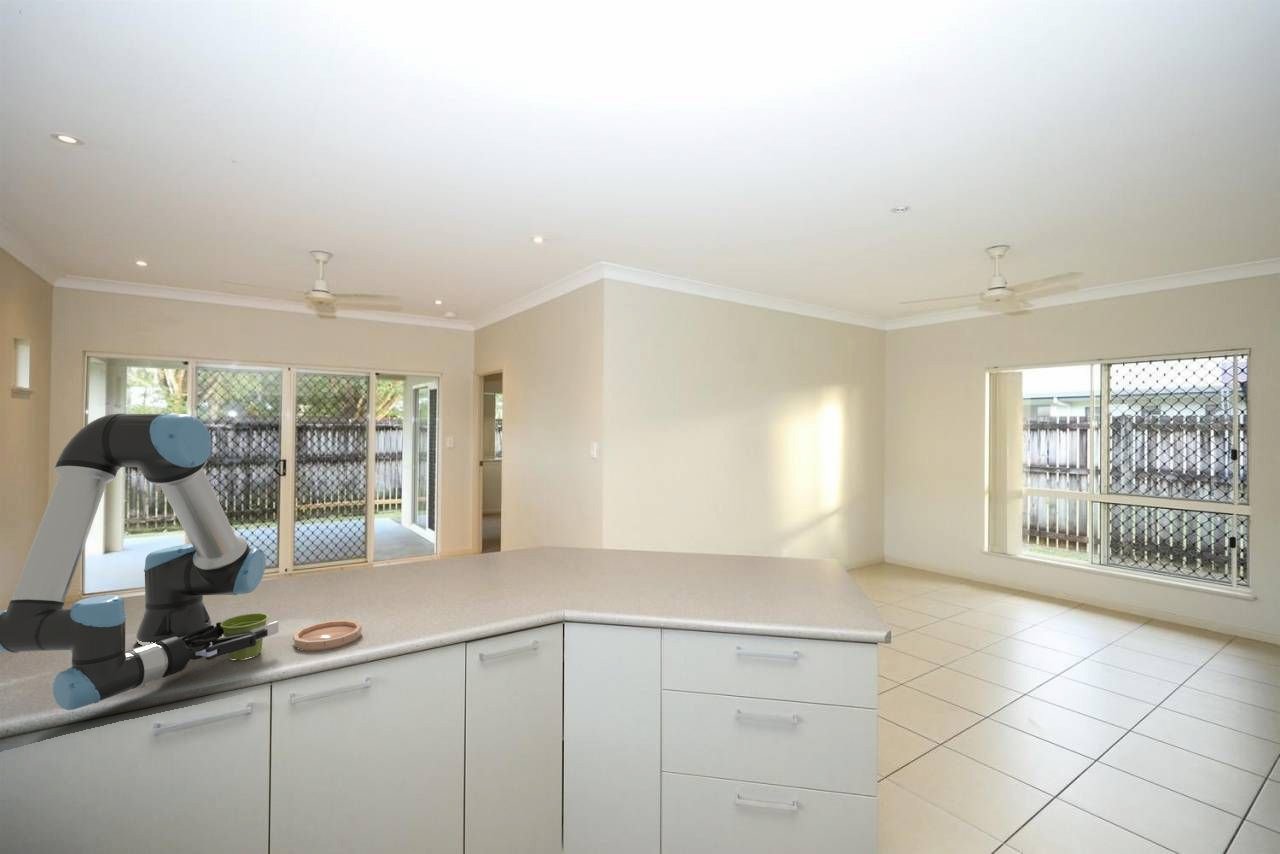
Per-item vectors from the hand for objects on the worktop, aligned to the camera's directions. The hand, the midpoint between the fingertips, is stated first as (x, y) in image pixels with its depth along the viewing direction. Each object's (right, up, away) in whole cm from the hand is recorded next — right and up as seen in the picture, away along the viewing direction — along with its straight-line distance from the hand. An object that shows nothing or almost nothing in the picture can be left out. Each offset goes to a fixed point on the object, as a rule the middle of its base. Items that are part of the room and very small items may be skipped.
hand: (264, 624), depth 140 cm
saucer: (+12, -6, +6) cm, 15 cm away
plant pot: (-2, -6, -4) cm, 8 cm away
